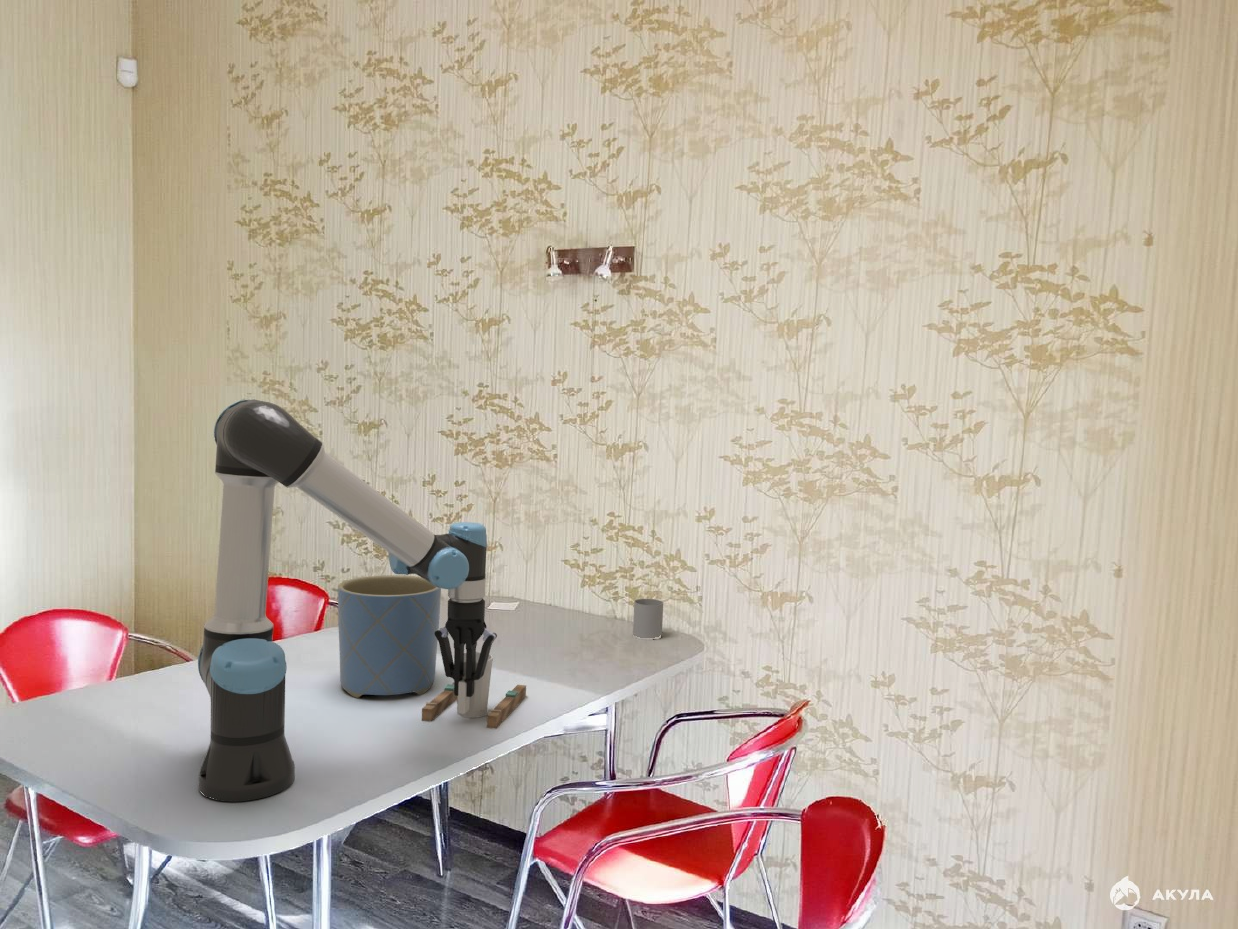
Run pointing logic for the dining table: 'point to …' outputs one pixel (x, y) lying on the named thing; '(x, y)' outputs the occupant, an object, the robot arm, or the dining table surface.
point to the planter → (387, 634)
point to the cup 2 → (648, 618)
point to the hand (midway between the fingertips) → (463, 711)
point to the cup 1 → (478, 690)
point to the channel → (493, 717)
